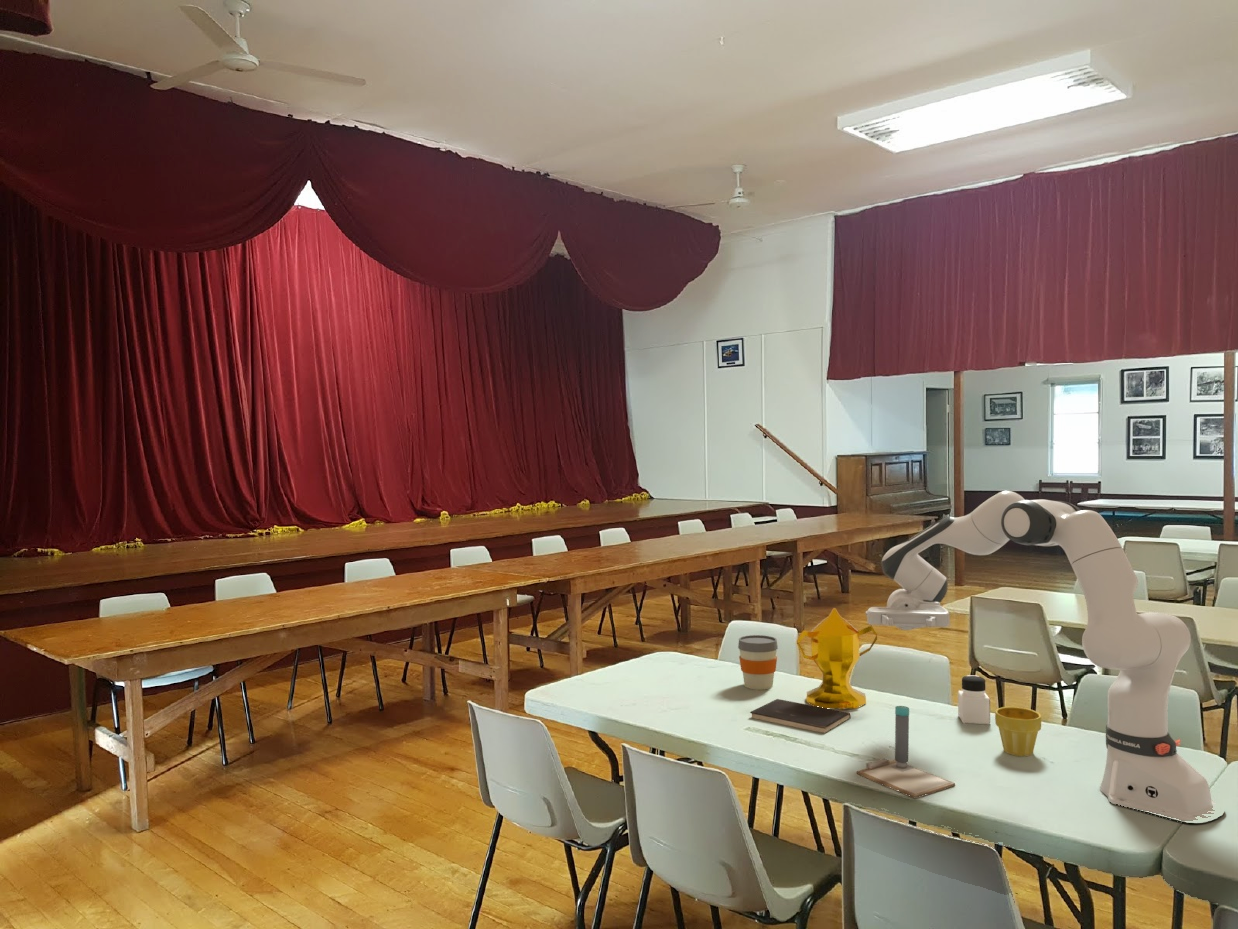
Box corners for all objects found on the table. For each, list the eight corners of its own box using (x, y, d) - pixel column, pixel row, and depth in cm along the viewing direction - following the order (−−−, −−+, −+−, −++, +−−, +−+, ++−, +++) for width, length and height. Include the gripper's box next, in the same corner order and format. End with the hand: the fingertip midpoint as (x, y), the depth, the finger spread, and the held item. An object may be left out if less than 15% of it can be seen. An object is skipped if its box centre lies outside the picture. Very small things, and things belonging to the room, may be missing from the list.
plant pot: (1039, 762, 206) (1038, 721, 206) (992, 755, 211) (992, 715, 211) (1043, 749, 215) (1043, 710, 214) (999, 742, 220) (998, 704, 220)
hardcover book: (824, 735, 229) (824, 727, 229) (750, 719, 244) (750, 711, 244) (850, 720, 242) (850, 712, 242) (778, 706, 256) (778, 698, 256)
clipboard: (955, 785, 193) (954, 778, 193) (914, 798, 186) (914, 791, 186) (894, 762, 208) (894, 755, 208) (855, 773, 201) (855, 766, 201)
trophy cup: (888, 708, 250) (886, 612, 249) (805, 712, 248) (803, 615, 247) (866, 691, 267) (865, 602, 266) (789, 695, 265) (787, 604, 265)
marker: (911, 767, 202) (912, 708, 202) (902, 770, 201) (903, 710, 200) (900, 763, 205) (901, 705, 205) (891, 765, 203) (892, 707, 203)
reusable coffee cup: (784, 683, 278) (783, 637, 278) (769, 693, 268) (768, 645, 267) (748, 678, 285) (747, 633, 285) (732, 688, 274) (731, 641, 274)
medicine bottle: (990, 724, 234) (990, 680, 234) (962, 723, 235) (962, 680, 235) (984, 716, 241) (984, 674, 241) (957, 715, 242) (957, 673, 242)
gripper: (865, 599, 231) (866, 609, 218) (945, 601, 226) (952, 611, 213) (865, 623, 231) (866, 634, 218) (946, 625, 226) (952, 637, 213)
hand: (909, 623), depth 215 cm, fingers open, 8 cm apart
